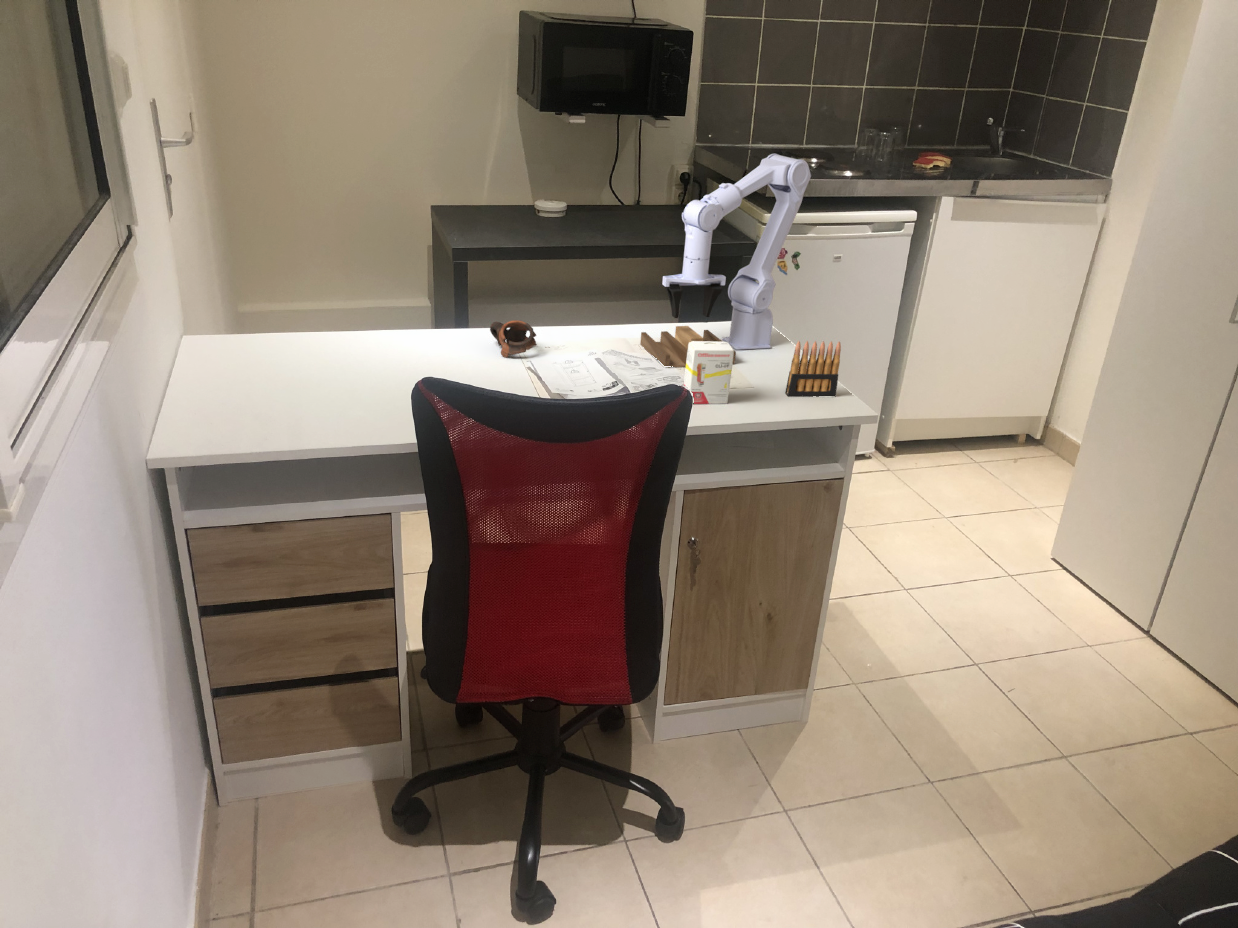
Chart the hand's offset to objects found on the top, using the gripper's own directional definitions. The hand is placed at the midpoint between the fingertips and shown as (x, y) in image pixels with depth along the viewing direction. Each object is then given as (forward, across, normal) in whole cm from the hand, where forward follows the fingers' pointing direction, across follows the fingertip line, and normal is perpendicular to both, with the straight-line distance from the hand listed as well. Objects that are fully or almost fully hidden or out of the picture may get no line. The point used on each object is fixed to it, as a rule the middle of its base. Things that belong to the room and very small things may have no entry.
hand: (690, 316), depth 216 cm
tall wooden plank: (+9, 0, 0) cm, 9 cm away
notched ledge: (+9, 0, 0) cm, 9 cm away
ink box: (+9, -7, -27) cm, 29 cm away
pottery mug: (+9, -40, +7) cm, 41 cm away
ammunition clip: (+9, +17, -28) cm, 34 cm away
